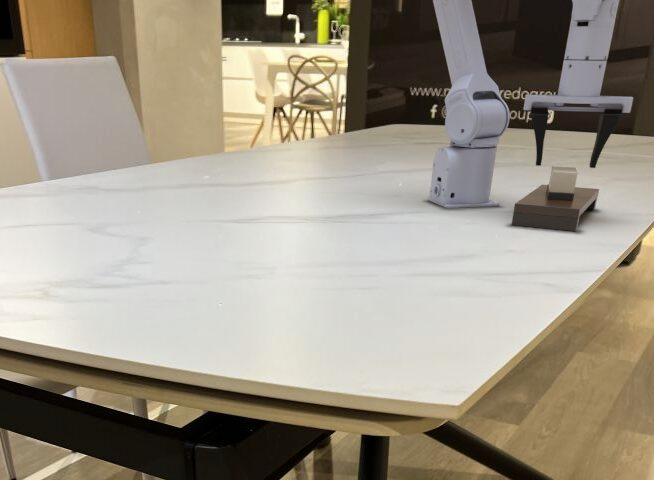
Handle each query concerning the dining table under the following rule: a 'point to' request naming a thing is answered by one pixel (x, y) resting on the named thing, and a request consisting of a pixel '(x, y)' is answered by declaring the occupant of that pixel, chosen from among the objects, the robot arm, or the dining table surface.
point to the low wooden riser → (553, 209)
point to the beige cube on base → (562, 183)
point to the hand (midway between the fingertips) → (565, 166)
